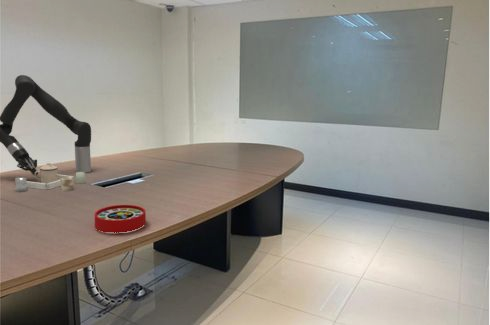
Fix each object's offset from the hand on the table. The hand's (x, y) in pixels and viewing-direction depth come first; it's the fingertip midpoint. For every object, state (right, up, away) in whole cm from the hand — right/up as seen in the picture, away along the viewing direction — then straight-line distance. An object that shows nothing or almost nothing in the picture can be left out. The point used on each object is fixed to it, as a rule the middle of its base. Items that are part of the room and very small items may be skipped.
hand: (36, 174), depth 207 cm
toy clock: (+69, -20, -57) cm, 92 cm away
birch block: (+23, -8, -10) cm, 26 cm away
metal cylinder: (+1, -8, -16) cm, 18 cm away
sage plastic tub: (+23, -5, +5) cm, 24 cm away
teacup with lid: (+5, -5, +1) cm, 8 cm away
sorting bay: (+7, -5, 0) cm, 9 cm away
